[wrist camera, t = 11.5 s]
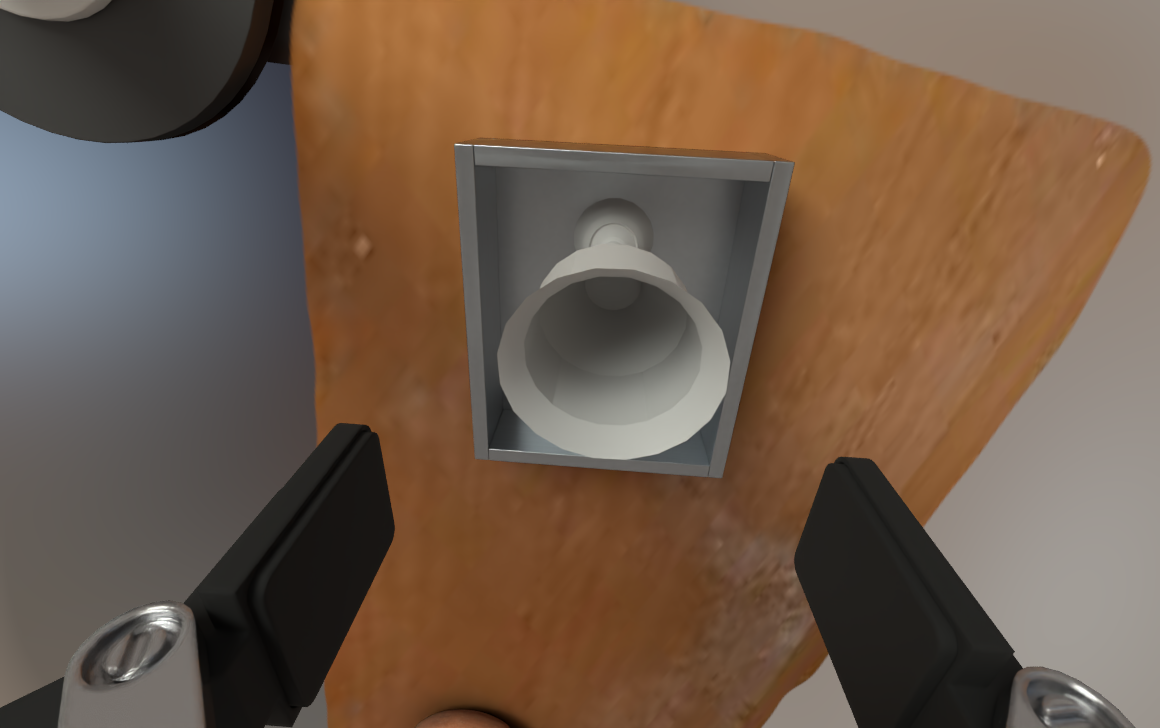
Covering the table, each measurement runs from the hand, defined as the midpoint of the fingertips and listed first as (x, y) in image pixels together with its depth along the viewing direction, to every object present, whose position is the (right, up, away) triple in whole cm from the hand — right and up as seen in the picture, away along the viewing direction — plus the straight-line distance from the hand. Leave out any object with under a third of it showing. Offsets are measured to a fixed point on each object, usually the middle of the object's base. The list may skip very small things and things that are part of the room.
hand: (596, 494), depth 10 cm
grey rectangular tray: (+2, +7, +23) cm, 24 cm away
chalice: (+2, +11, +21) cm, 24 cm away
